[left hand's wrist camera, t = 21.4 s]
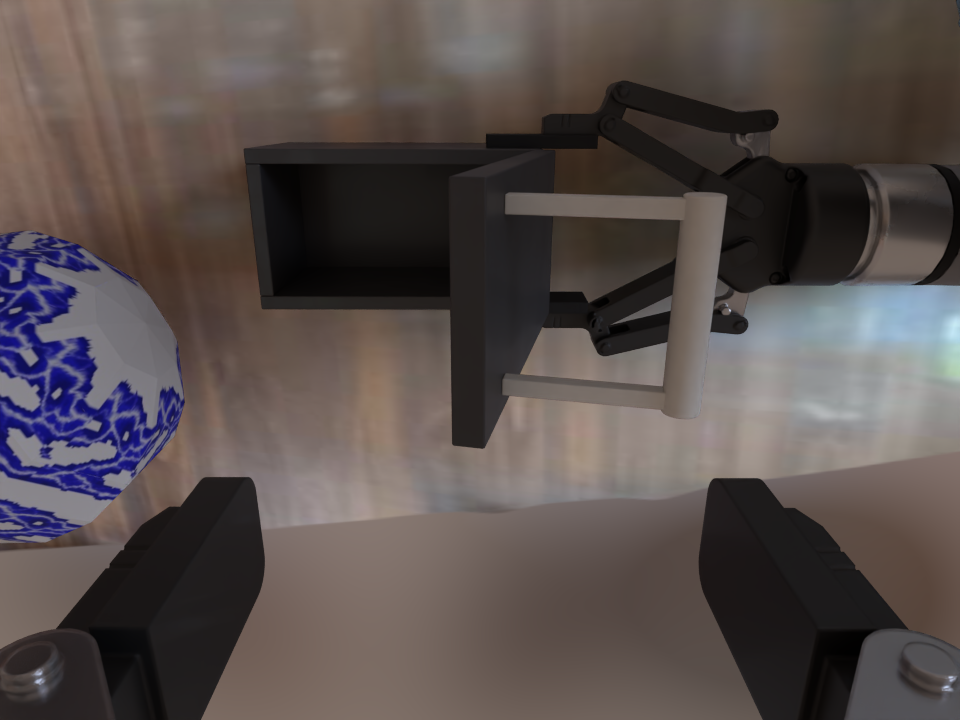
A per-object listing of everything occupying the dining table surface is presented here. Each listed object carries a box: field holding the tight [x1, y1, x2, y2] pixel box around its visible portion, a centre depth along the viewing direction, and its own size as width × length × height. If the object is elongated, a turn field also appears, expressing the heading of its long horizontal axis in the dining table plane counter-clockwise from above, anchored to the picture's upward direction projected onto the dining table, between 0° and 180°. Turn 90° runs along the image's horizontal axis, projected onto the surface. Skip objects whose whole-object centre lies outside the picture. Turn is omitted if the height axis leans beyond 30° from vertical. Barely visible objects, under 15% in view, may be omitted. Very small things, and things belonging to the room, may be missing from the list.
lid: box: [449, 150, 727, 449], centre depth 30 cm, size 18×9×9 cm
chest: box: [244, 142, 543, 309], centre depth 43 cm, size 17×9×9 cm, turn 90°
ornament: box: [0, 230, 185, 543], centre depth 42 cm, size 20×20×20 cm
